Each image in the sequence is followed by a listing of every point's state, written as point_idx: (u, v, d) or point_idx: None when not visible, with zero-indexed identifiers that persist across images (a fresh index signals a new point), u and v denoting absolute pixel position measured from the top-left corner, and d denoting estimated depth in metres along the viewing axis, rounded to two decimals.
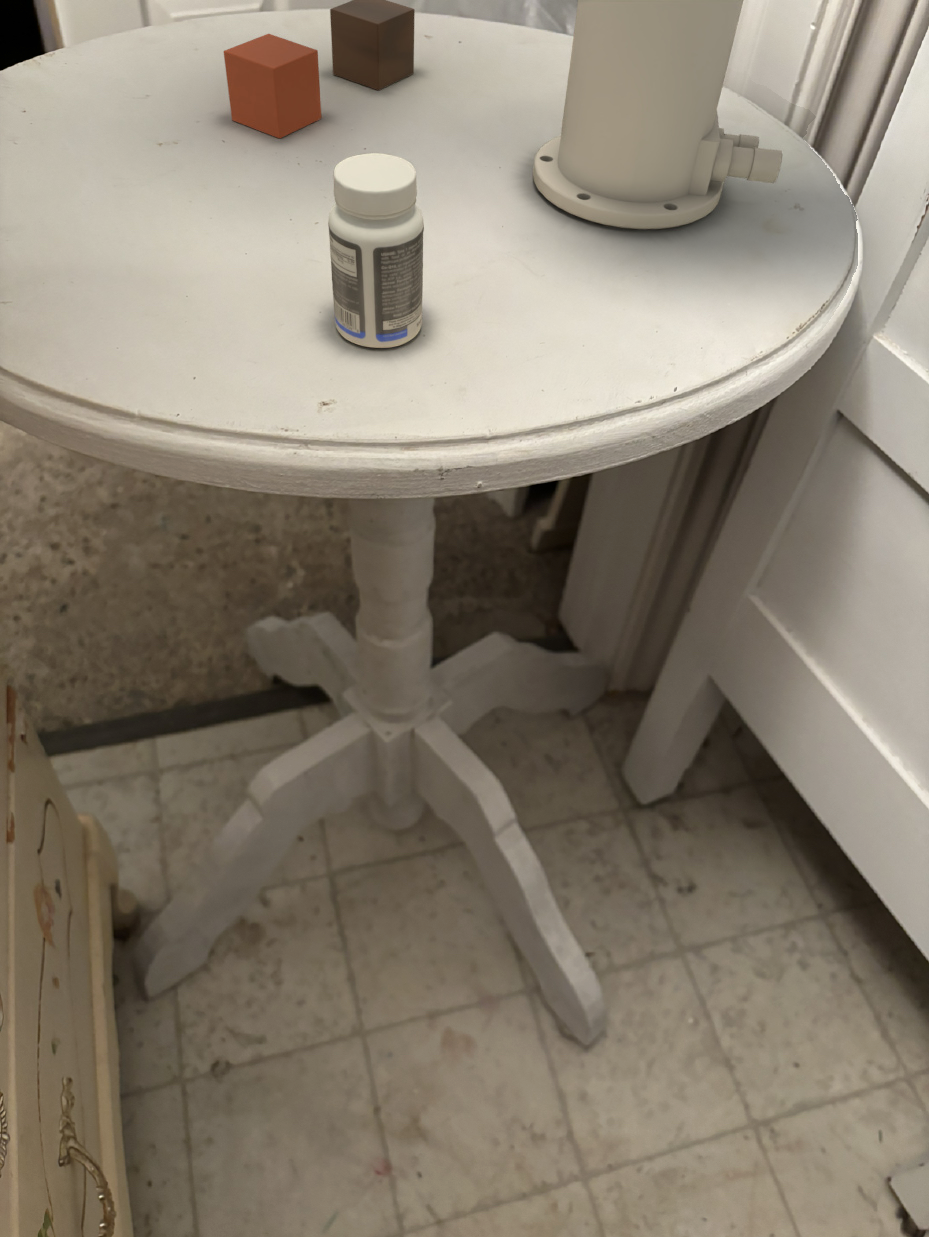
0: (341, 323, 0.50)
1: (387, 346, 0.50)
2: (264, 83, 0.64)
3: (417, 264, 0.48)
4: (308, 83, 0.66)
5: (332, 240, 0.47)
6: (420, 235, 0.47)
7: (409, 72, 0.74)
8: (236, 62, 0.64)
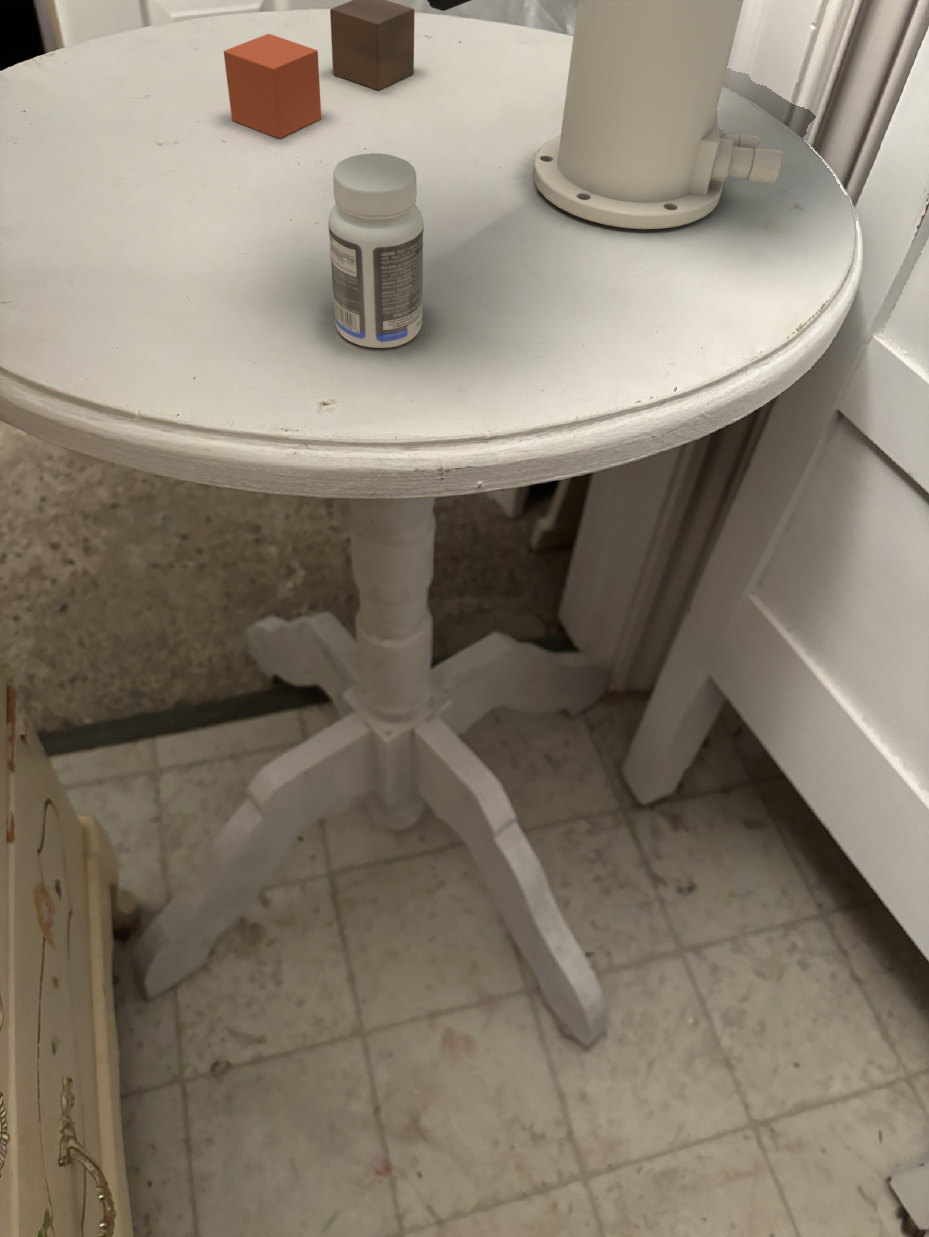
0: (341, 323, 0.50)
1: (387, 346, 0.50)
2: (264, 83, 0.64)
3: (417, 264, 0.48)
4: (308, 83, 0.66)
5: (332, 240, 0.47)
6: (420, 235, 0.47)
7: (409, 72, 0.74)
8: (236, 62, 0.64)
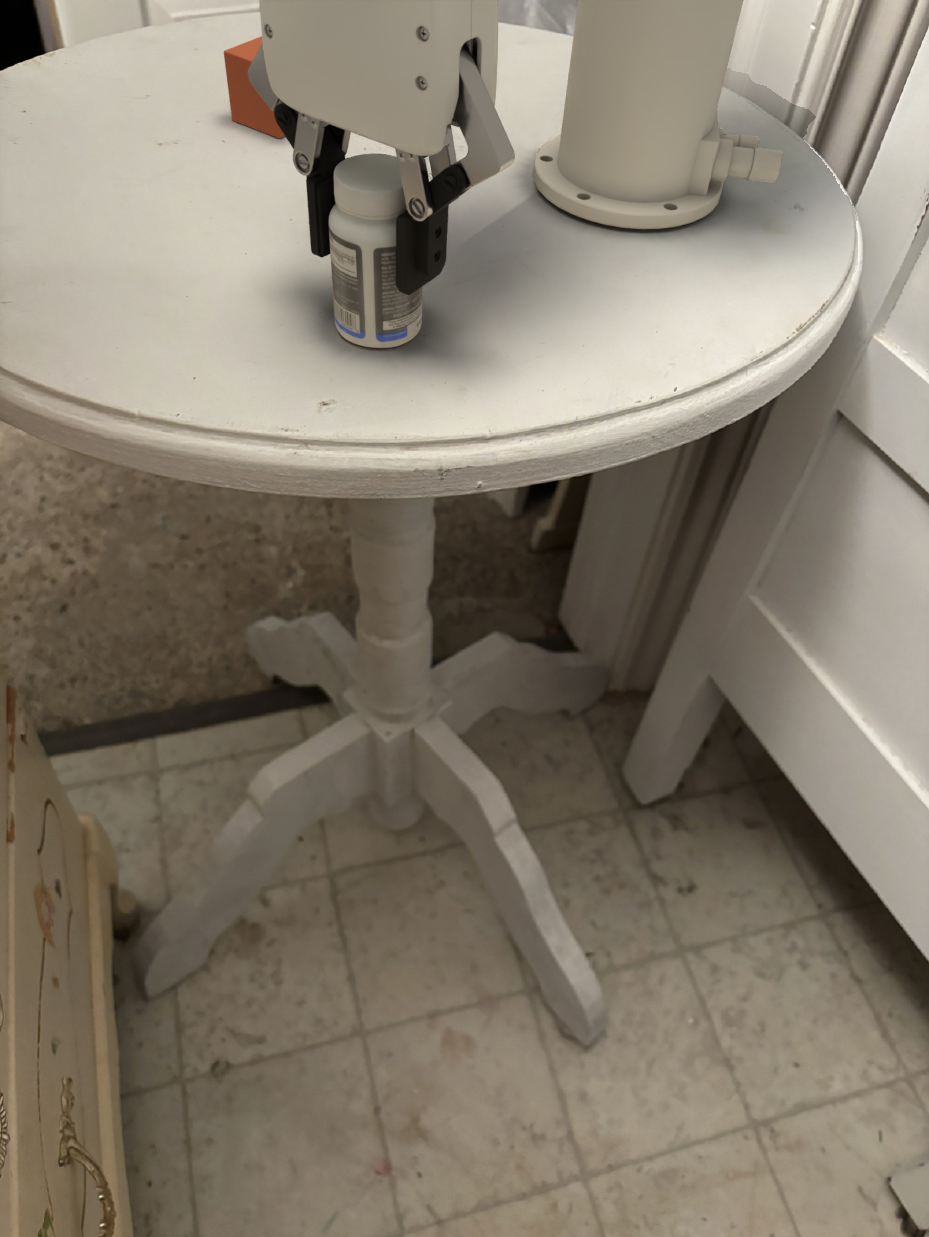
0: (341, 323, 0.50)
1: (387, 346, 0.50)
2: None
3: None
4: None
5: (332, 240, 0.47)
6: None
7: None
8: (236, 62, 0.64)
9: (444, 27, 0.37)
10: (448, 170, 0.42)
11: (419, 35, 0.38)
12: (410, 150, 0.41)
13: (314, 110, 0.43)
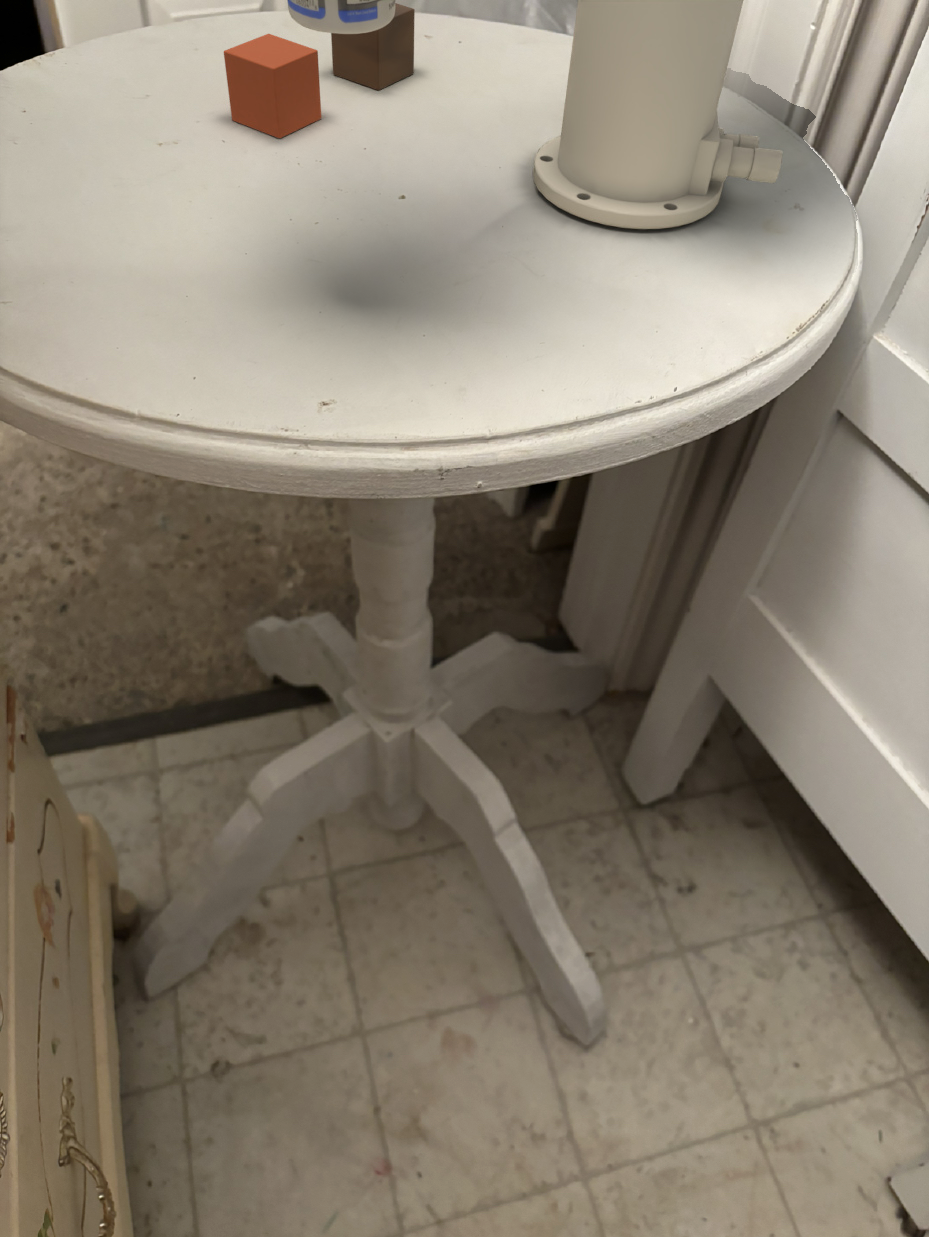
0: (296, 1, 0.41)
1: (353, 31, 0.41)
2: (264, 83, 0.64)
3: None
4: (308, 83, 0.66)
5: None
6: None
7: (409, 72, 0.74)
8: (236, 62, 0.64)
9: None
10: None
11: None
12: None
13: None
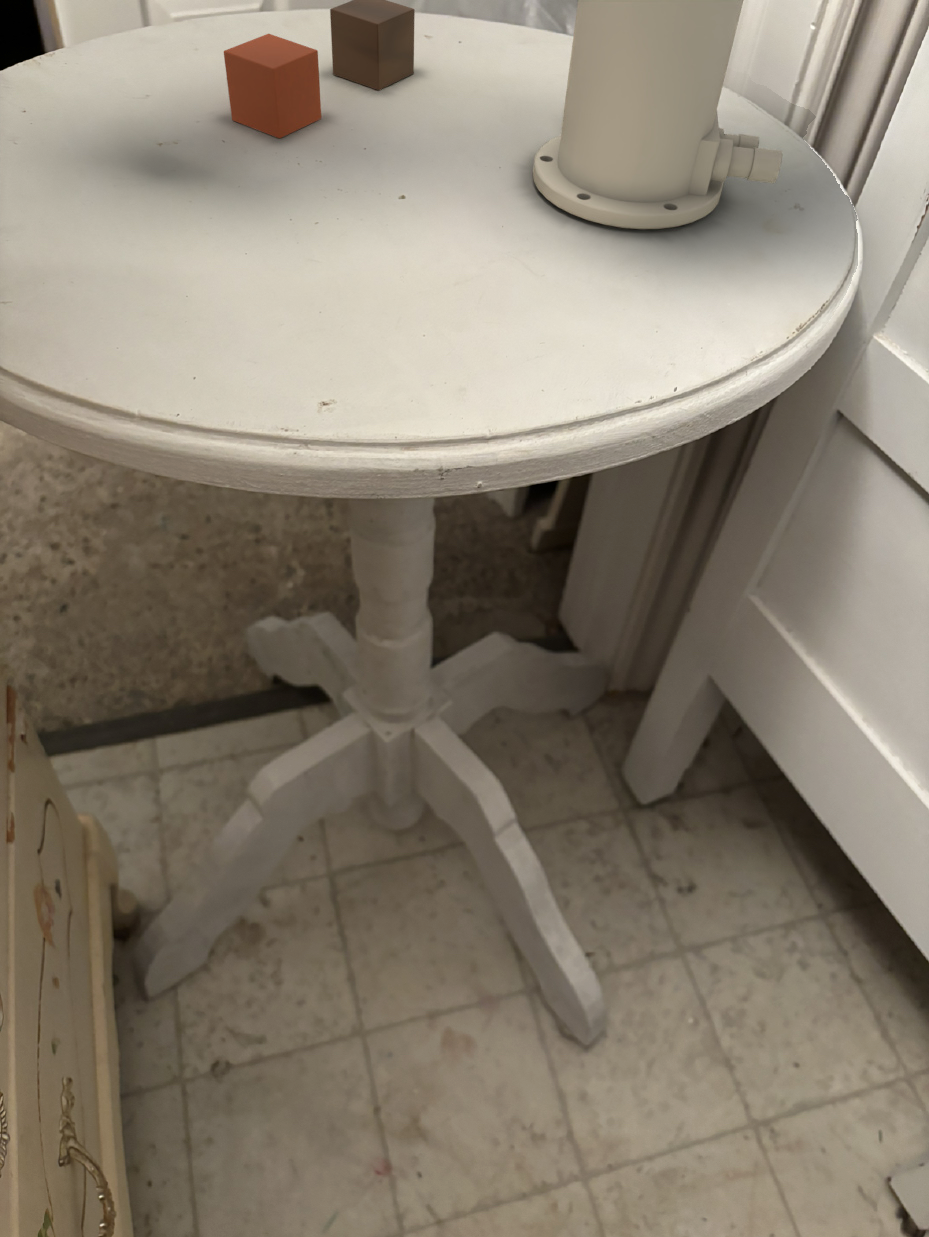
0: None
1: None
2: (264, 83, 0.64)
3: None
4: (308, 83, 0.66)
5: None
6: None
7: (409, 72, 0.74)
8: (236, 62, 0.64)
9: None
10: None
11: None
12: None
13: None
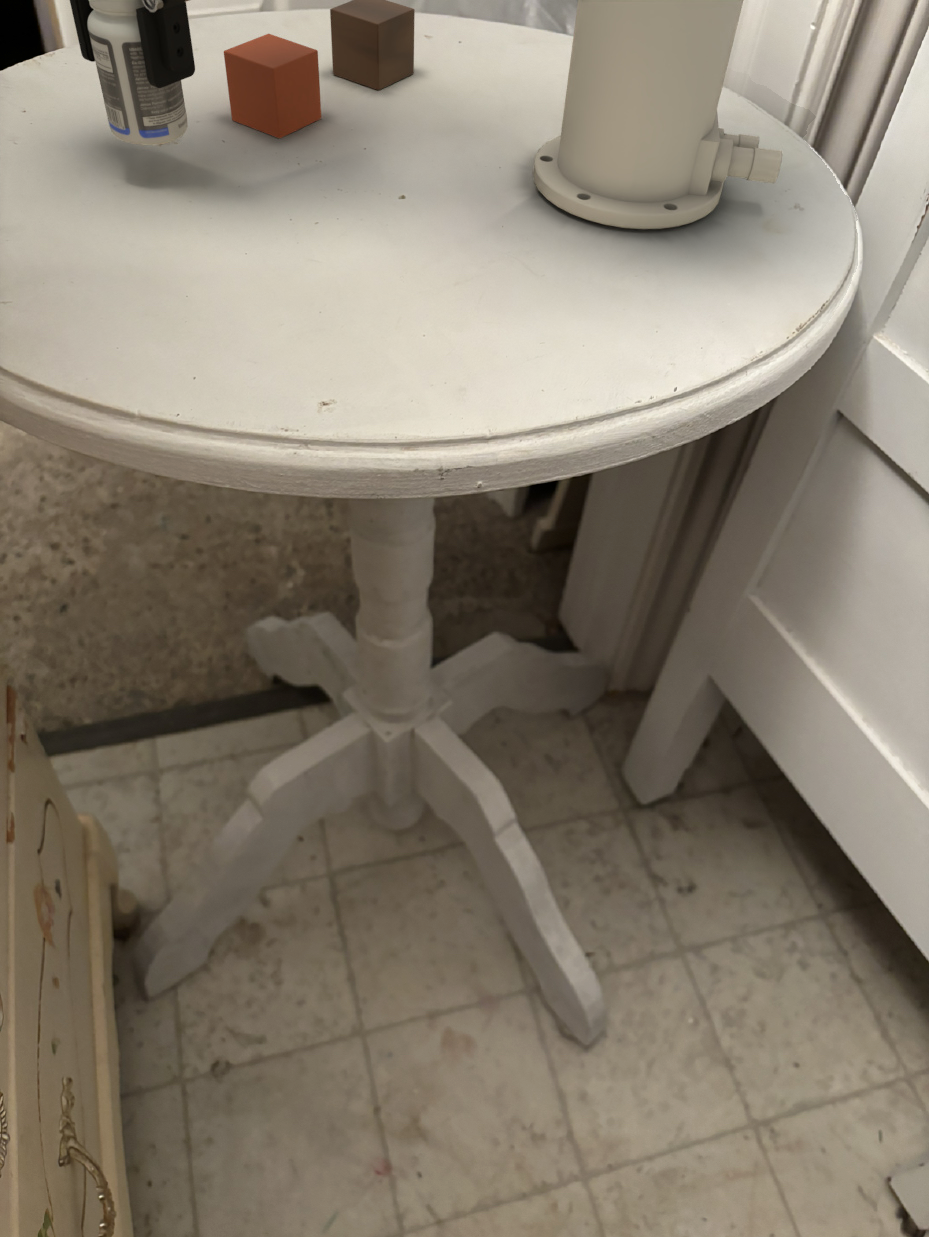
0: (111, 122, 0.58)
1: (151, 143, 0.58)
2: (264, 83, 0.64)
3: None
4: (308, 83, 0.66)
5: (91, 40, 0.55)
6: None
7: (409, 72, 0.74)
8: (236, 62, 0.64)
9: None
10: None
11: None
12: None
13: None
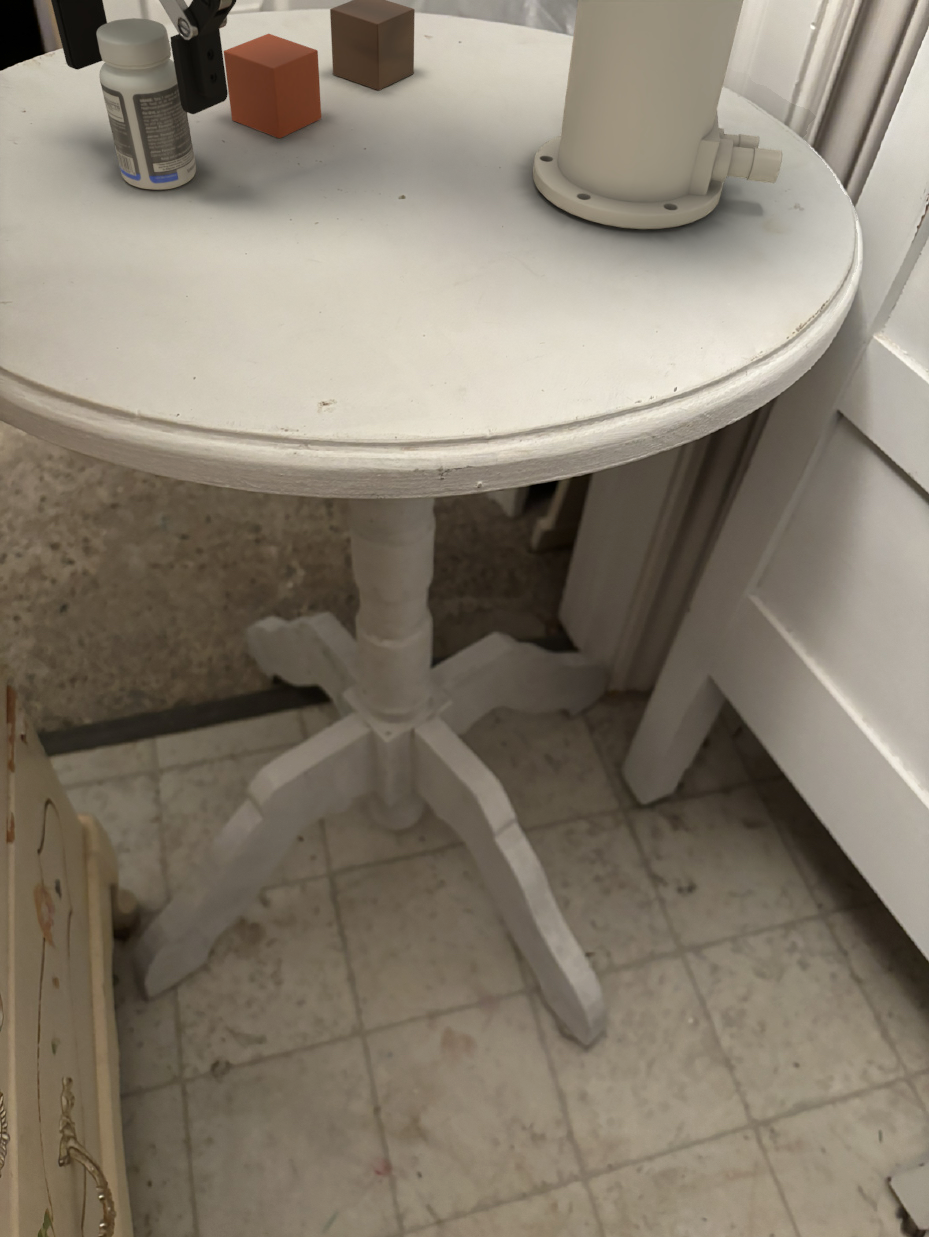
0: (122, 168, 0.60)
1: (161, 188, 0.60)
2: (264, 83, 0.64)
3: (177, 114, 0.58)
4: (308, 83, 0.66)
5: (103, 91, 0.57)
6: (176, 87, 0.57)
7: (409, 72, 0.74)
8: (236, 62, 0.64)
9: None
10: None
11: None
12: None
13: None
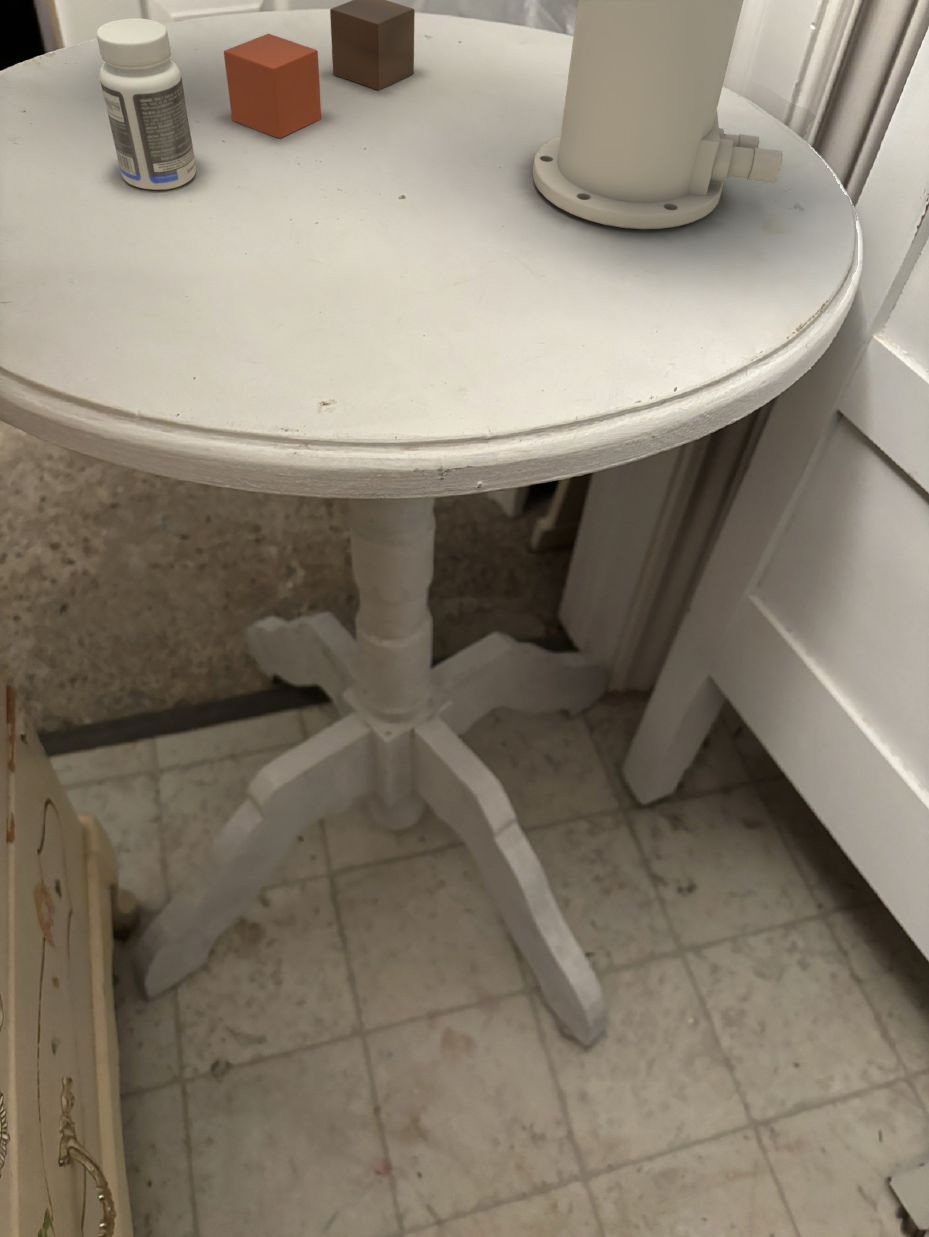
0: (122, 168, 0.60)
1: (161, 188, 0.60)
2: (264, 83, 0.64)
3: (177, 114, 0.58)
4: (308, 83, 0.66)
5: (103, 91, 0.57)
6: (176, 87, 0.57)
7: (409, 72, 0.74)
8: (236, 62, 0.64)
9: None
10: None
11: None
12: None
13: None
